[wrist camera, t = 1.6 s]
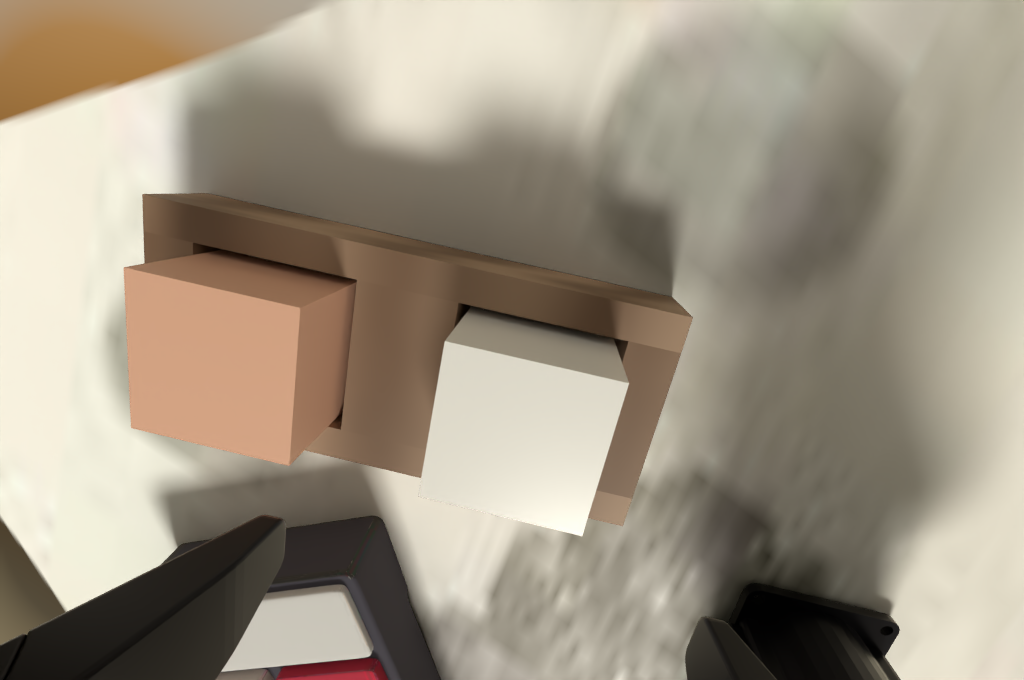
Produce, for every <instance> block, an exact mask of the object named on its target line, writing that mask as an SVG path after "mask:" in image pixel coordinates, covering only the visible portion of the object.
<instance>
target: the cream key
mask: <svg viewBox="0 0 1024 680" xmlns="http://www.w3.org/2000/svg"><path fill="white" fill-rule="evenodd" d="M628 385H629V382H628V379H627V376H626V373H625V370H624V367H623V364H622V361H621V358H620V355H619V353H618V350H617V347H616V344H615V341H614V339H613V338H608V337H604V336H599V335H595V334H591V333H586V332H582V331H577V330H573V329H569V328H564V327H560V326H555V325H551V324H546V323H542V322H538V321H533V320H529V319H524V318H520V317H516V316H511V315H507V314H502V313H498V312H494V311H489V310H485V309H480V308H476V307H472V306H471V308H470V309H469V310H468V311H467V313H466V314H465V315H464V317H463V318H462V319H461V321H460V322H459V323H458V324H457V326H456V327H455V328H454V330H453V331H452V332H451V334H450V335H449V336H448V337H447V339H446V340H445V342H444V348H443V354H442V360H441V366H440V371H439V377H438V383H437V389H436V395H435V401H434V406H433V412H432V418H431V424H430V430H429V436H428V441H427V447H426V453H425V459H424V465H423V470H422V476H421V482H420V488H419V494H418V497H421V498H425V499H430V500H434V501H438V502H442V503H446V504H450V505H455V506H459V507H463V508H467V509H471V510H475V511H480V512H484V513H488V514H492V515H496V516H500V517H505V518H509V519H513V520H517V521H521V522H525V523H530V524H534V525H538V526H542V527H546V528H550V529H555V530H559V531H563V532H567V533H571V534H575V535H579V536H582V535H583V532H584V528H585V525H586V522H587V519H588V515H589V512H590V509H591V506H592V502H593V499H594V496H595V493H596V489H597V486H598V483H599V480H600V476H601V473H602V470H603V467H604V463H605V460H606V457H607V454H608V450H609V447H610V444H611V441H612V437H613V434H614V431H615V428H616V424H617V421H618V418H619V415H620V411H621V408H622V405H623V402H624V398H625V395H626V392H627V389H628Z"/></svg>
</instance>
